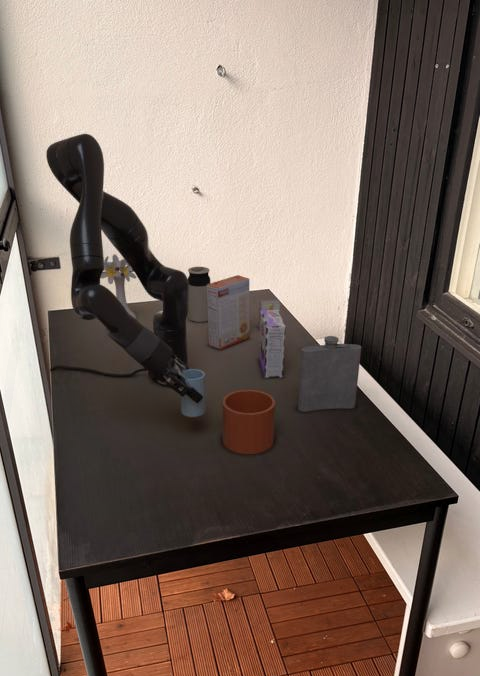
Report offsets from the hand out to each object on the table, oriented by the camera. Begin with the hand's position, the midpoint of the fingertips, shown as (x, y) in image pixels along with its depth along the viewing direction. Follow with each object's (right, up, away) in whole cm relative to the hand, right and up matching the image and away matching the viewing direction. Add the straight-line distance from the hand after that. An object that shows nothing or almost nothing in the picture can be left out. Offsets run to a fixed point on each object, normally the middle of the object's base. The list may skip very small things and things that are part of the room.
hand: (199, 393), depth 157 cm
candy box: (+19, +10, +41) cm, 46 cm away
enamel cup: (-2, -4, +2) cm, 5 cm away
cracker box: (+6, +20, +59) cm, 62 cm away
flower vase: (-30, +26, +69) cm, 79 cm away
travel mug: (-5, +31, +77) cm, 83 cm away
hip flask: (+33, -3, +20) cm, 39 cm away
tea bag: (+20, +26, +70) cm, 77 cm away
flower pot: (+12, -11, +4) cm, 17 cm away
